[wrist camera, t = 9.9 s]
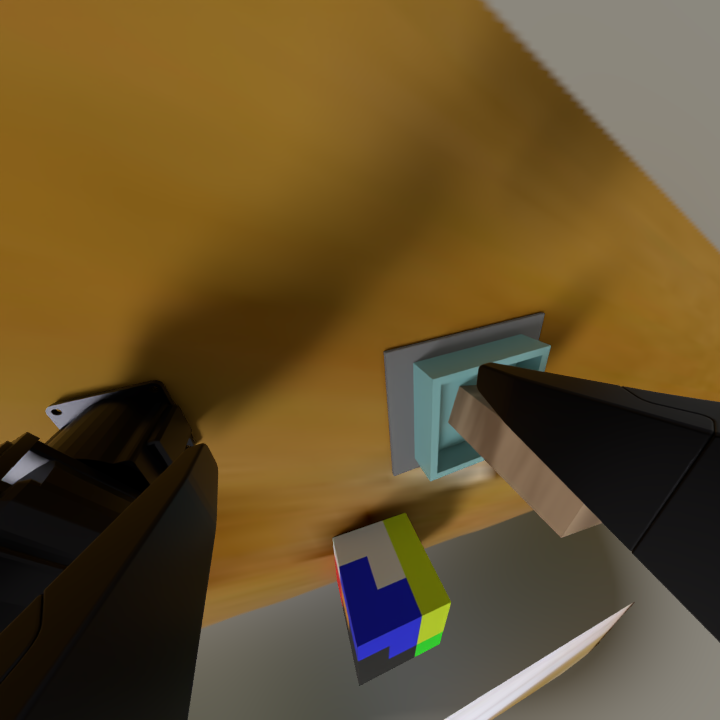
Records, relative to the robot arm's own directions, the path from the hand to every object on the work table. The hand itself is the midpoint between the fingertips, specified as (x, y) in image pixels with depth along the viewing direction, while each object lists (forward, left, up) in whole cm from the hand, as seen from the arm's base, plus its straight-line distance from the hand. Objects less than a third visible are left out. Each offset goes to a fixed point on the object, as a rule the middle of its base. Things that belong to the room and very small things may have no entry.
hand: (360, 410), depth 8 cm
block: (+15, -13, -12) cm, 23 cm away
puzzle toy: (+2, -34, -13) cm, 37 cm away
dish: (+15, -13, -13) cm, 24 cm away
